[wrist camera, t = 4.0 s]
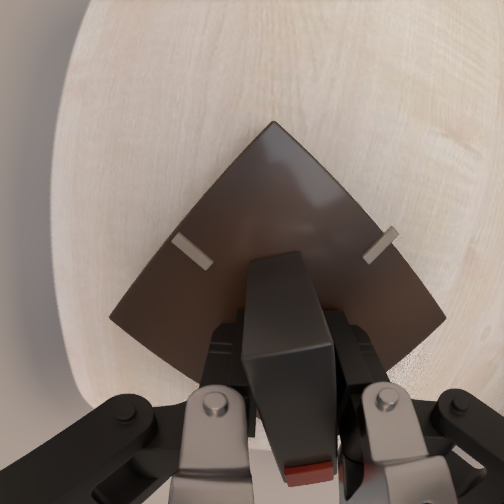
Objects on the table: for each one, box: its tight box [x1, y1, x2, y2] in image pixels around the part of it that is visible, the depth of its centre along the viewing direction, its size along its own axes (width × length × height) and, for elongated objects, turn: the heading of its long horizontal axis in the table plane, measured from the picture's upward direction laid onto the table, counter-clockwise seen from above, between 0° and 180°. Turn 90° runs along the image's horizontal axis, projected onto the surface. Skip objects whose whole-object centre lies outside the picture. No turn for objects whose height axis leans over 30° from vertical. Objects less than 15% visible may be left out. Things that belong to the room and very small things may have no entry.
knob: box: [241, 252, 338, 487], centre depth 7 cm, size 6×2×5 cm, turn 12°
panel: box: [109, 121, 446, 419], centre depth 11 cm, size 10×10×3 cm
